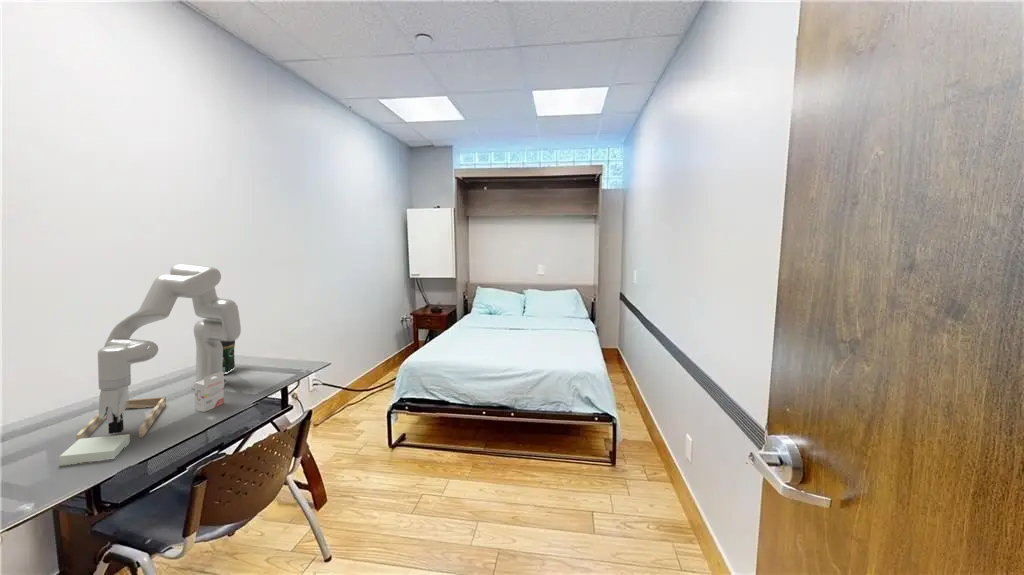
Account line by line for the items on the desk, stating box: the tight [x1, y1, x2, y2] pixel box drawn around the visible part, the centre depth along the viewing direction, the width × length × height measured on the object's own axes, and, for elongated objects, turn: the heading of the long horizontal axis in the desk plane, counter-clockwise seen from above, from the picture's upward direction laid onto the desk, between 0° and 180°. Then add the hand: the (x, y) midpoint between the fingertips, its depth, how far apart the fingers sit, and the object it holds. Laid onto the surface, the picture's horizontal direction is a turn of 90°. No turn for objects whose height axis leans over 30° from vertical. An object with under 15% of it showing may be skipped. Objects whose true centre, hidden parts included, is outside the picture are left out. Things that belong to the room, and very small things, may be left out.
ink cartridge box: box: [194, 371, 225, 413], centre depth 153 cm, size 9×5×15 cm, turn 168°
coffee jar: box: [220, 340, 236, 373], centre depth 186 cm, size 10×8×19 cm
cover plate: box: [58, 433, 131, 467], centre depth 118 cm, size 10×12×4 cm
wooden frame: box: [75, 396, 167, 442], centre depth 136 cm, size 26×16×4 cm, turn 30°
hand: (116, 431), depth 128 cm, fingers closed
